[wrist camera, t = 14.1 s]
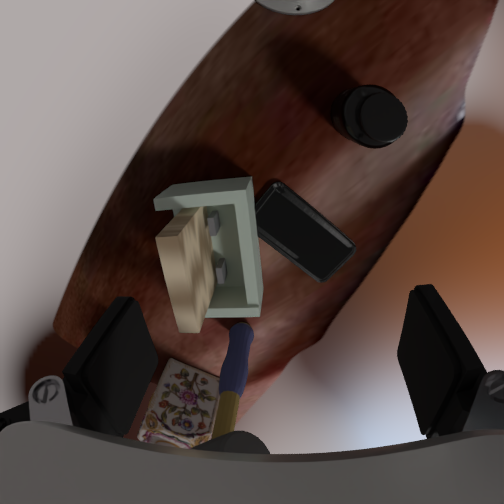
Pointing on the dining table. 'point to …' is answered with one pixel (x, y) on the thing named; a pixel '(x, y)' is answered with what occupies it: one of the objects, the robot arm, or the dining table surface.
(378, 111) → the supplement bottle
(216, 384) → the decorative jar
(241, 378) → the rubber mallet
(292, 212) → the phone
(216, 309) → the cabinet
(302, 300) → the dining table surface
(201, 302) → the wooden block
